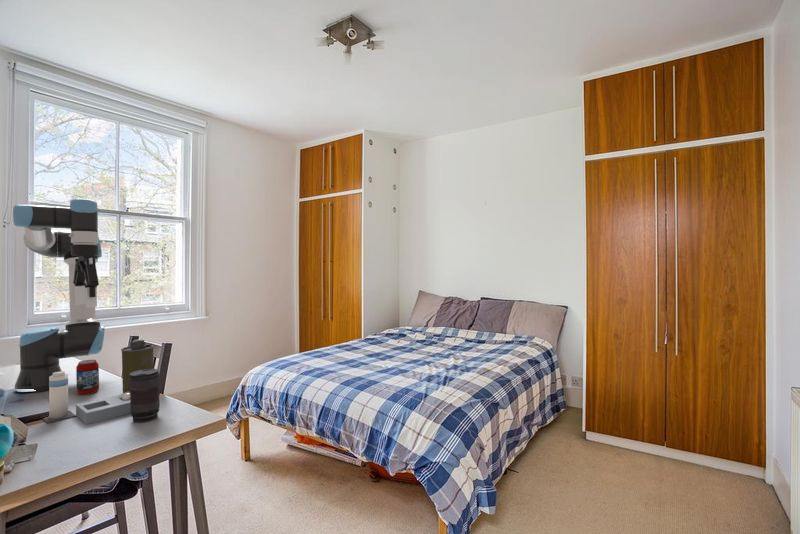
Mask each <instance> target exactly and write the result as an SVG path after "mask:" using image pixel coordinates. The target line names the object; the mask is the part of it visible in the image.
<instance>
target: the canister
mask: <svg viewBox="0 0 800 534" xmlns="http://www.w3.org/2000/svg"><path fill="white" fill-rule="evenodd" d="M129 344H130V346H125V347H122V348H121V349H120V351H121V371H122V372H121V375H122V378H121V379H122V394H123V393H125V392H130V389H129V377H130V373H132V372H134V371H138V370H143V369H154V348H155V347H154V345H153V344H152V343H146V342H145V340H144V339H135V340H133V341H129Z"/></svg>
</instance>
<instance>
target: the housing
mask: <svg viewBox="0 0 800 534" xmlns="http://www.w3.org/2000/svg"><path fill="white" fill-rule="evenodd" d="M122 394H123V393H121V394H118V395H117V394H116V395H112V396H108V397H104V398H100V399H94V400H90V401H85V402H80V403H76V404H75V416H76V417H77V418H79V419H80V420H81V421H82V422H84V424H86V425H89V424H90V425H91V424H93V423H98V422H101V421H102V422H103V421H105V420H106V421H107V420H110V419H114V418H117V417H120V416H121V417H122V416H124V415H129V414H131V410H130V399H129V400H125V401H123V400H122Z"/></svg>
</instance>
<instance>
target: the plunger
mask: <svg viewBox="0 0 800 534" xmlns="http://www.w3.org/2000/svg"><path fill="white" fill-rule="evenodd" d="M121 394H122V400H123V401H125V400H129V399H130V392H125V393H123V392H122V393H121Z"/></svg>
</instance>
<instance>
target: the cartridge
mask: <svg viewBox="0 0 800 534" xmlns="http://www.w3.org/2000/svg"><path fill="white" fill-rule="evenodd" d="M48 392H49V394H48V395H49V398H48V400H49V404H48V405H49V407H48V408H49V410H48V411H49V412H48V415H49V418H50V419H57V418H62V417H65V416H67V415H68V411H69V374H68V373H66V372H65V371H63V370H62V371H60V372H54V373H53V375H52V376H50V377H49V390H48Z"/></svg>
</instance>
